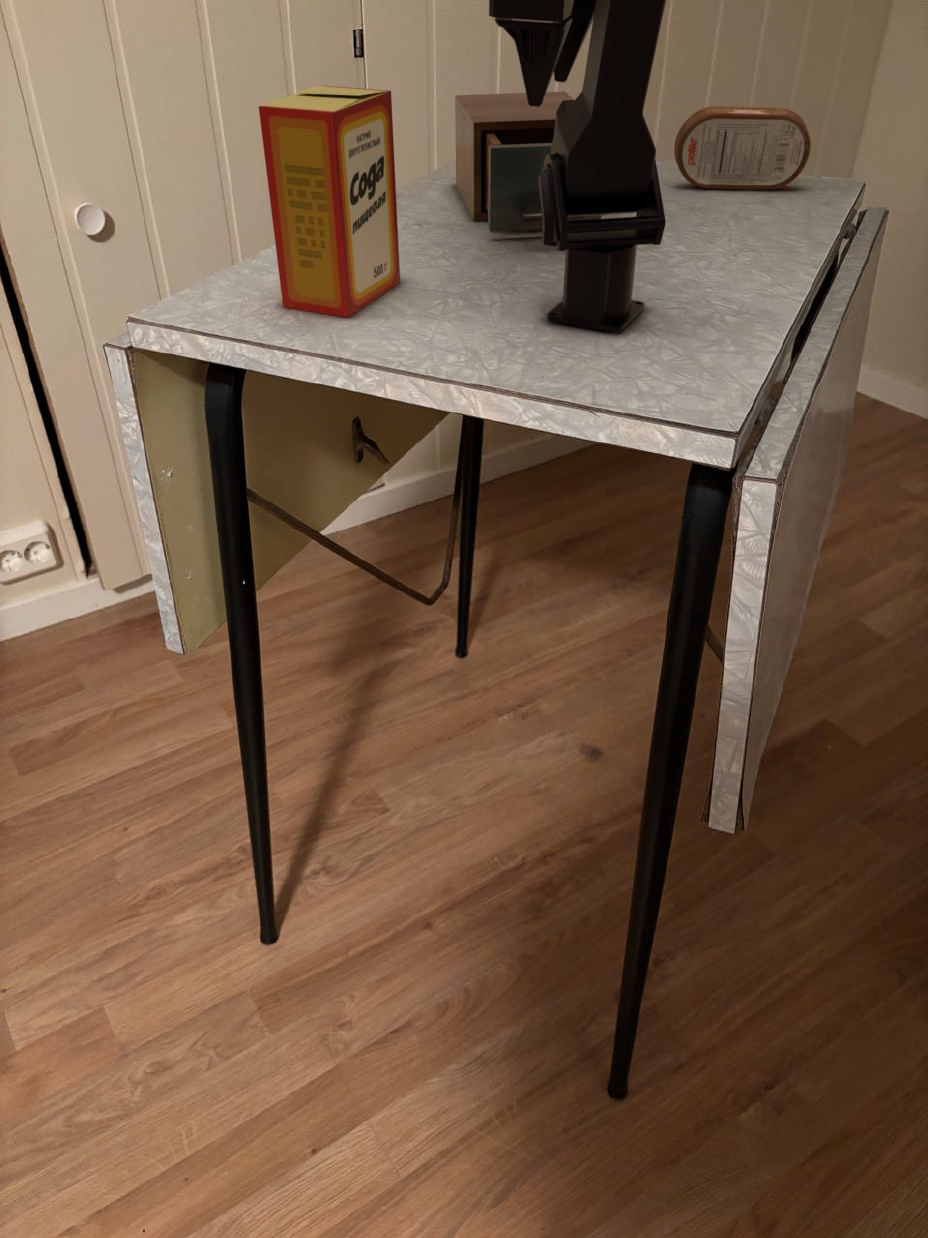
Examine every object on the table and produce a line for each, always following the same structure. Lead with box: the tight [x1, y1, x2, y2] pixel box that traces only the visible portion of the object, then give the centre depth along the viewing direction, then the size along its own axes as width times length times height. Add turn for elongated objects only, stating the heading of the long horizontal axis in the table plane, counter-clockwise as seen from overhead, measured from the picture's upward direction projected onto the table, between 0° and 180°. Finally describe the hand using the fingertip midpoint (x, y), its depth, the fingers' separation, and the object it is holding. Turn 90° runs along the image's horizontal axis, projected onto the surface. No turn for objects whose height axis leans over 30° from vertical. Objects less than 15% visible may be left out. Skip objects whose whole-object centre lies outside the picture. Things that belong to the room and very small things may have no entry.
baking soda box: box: [258, 85, 401, 319], centre depth 82 cm, size 10×6×16 cm
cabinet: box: [454, 91, 575, 222], centre depth 108 cm, size 15×13×10 cm
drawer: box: [481, 128, 603, 233], centre depth 100 cm, size 18×11×8 cm, turn 8°
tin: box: [673, 105, 812, 191], centre depth 112 cm, size 15×3×8 cm, turn 84°
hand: (548, 93), depth 90 cm, fingers open, 9 cm apart
